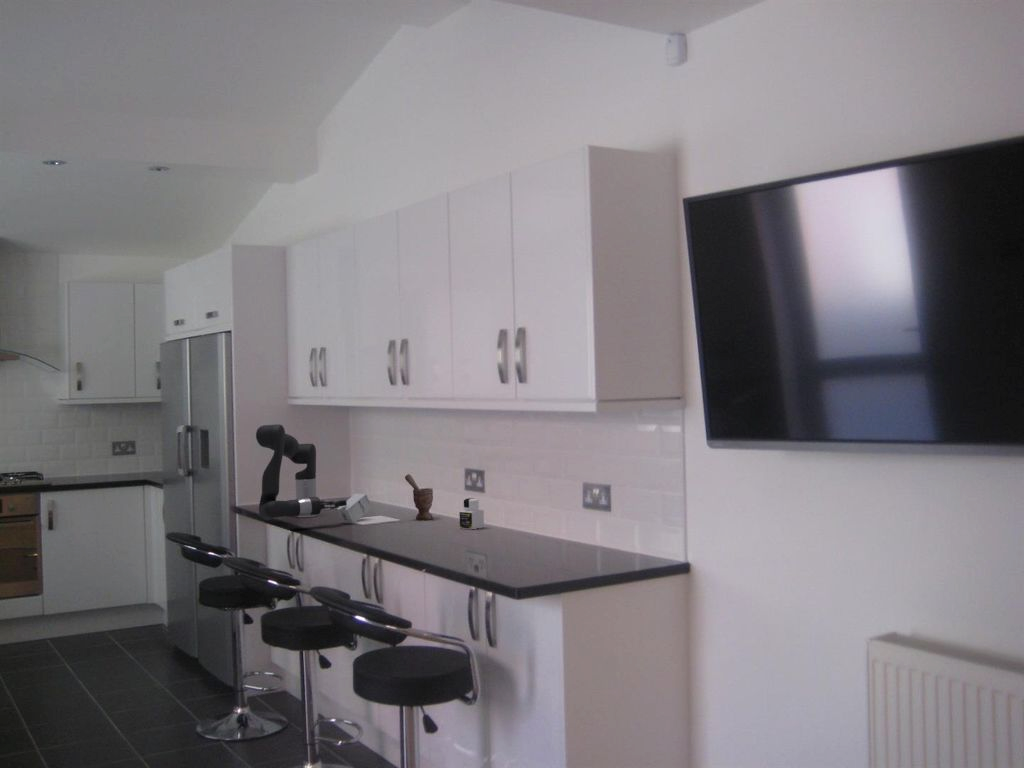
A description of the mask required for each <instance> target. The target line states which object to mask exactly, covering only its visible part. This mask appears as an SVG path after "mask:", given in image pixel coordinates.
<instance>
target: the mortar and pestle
mask: <svg viewBox="0 0 1024 768" xmlns="http://www.w3.org/2000/svg"><path fill="white" fill-rule="evenodd" d="M404 479H405V480H406V482H407V483H408V484H409V485H410V486H411V487H412V489H413V490H412V493H413V494H412V495H413V503H414V507H415V508H416V509H417V510H418V513H417V514H416V517H415V519H416V520H417V521H425V520H434V517H433V514H432V513H430V509H431V508H432V505H433V500H434V489H433V488H431V487H428V488H427V487H426V488H420V487H419V486H418V484H417V482H416V481H415V479H414V478H413V476H412V475H411V474H409V473H408V474H406V475H405V477H404Z"/></svg>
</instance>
